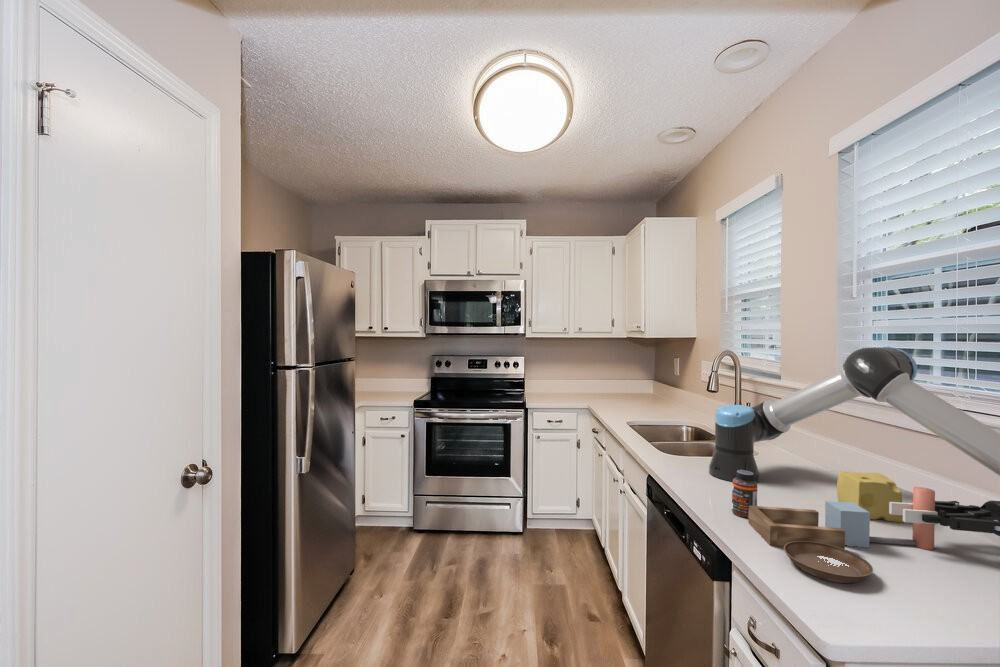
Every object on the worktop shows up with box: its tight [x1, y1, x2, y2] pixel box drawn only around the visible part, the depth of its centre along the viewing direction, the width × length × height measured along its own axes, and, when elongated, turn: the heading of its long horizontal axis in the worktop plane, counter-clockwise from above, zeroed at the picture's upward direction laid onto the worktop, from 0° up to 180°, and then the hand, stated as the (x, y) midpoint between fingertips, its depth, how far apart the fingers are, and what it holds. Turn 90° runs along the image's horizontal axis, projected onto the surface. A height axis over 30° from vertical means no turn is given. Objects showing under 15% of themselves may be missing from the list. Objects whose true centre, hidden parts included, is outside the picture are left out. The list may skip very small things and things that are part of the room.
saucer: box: [783, 541, 874, 584], centre depth 92 cm, size 15×15×3 cm
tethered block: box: [824, 486, 936, 551], centre depth 103 cm, size 21×6×13 cm, turn 82°
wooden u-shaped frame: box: [747, 505, 846, 550], centre depth 106 cm, size 16×12×4 cm
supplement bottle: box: [731, 470, 758, 519], centre depth 119 cm, size 6×6×11 cm
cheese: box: [836, 470, 904, 523], centre depth 121 cm, size 10×11×10 cm
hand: (897, 511), depth 103 cm, fingers closed on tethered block, 4 cm apart
